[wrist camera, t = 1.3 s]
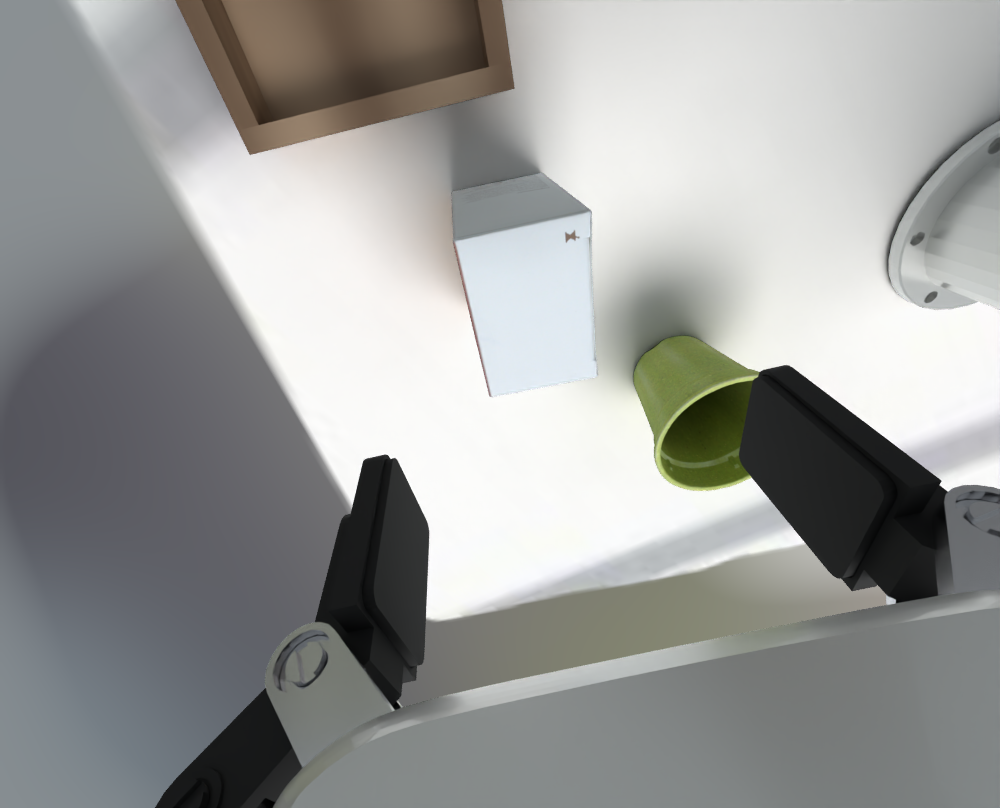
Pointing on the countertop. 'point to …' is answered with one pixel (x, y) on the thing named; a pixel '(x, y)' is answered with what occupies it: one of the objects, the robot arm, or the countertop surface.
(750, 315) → the countertop surface
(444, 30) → the walnut tray
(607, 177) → the countertop surface
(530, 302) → the small box
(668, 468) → the plant pot
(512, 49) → the countertop surface
